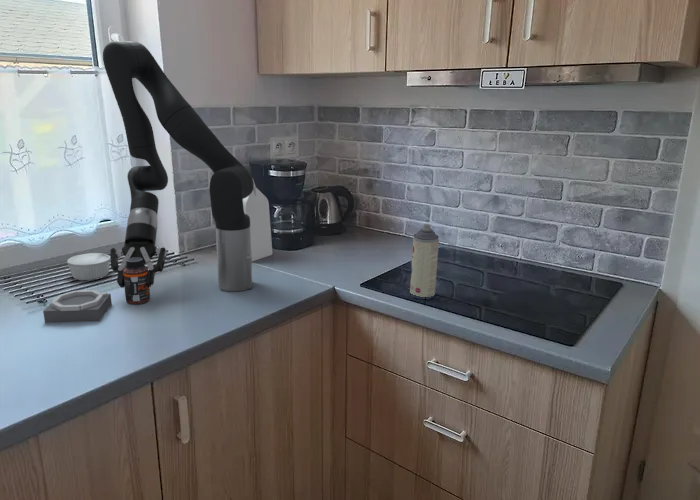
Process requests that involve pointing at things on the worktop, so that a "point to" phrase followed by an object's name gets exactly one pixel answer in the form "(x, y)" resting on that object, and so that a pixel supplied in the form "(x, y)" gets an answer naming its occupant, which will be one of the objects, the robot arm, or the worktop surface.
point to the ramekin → (89, 266)
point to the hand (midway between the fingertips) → (135, 285)
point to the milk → (258, 224)
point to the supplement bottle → (136, 281)
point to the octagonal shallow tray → (78, 307)
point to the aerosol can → (424, 262)
